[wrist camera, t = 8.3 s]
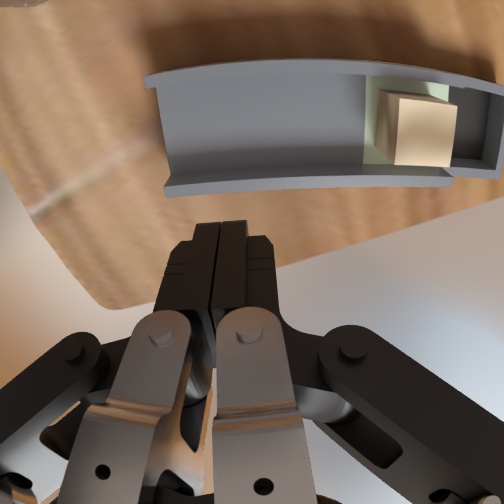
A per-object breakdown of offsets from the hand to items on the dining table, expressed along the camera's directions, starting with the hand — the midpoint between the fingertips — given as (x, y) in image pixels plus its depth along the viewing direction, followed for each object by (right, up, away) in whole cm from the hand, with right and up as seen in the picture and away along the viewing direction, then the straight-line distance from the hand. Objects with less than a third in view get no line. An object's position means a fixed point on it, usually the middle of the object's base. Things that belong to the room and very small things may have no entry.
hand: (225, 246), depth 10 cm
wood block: (+14, +11, +13) cm, 22 cm away
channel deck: (+10, +12, +16) cm, 22 cm away
